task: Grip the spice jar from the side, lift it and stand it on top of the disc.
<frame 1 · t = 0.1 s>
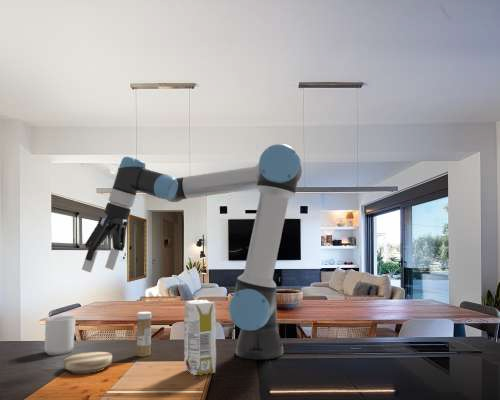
hand: (98, 269, 128), 28 cm above the counter, tool tilted 20°, fingers open, 13 cm apart
mug: (62, 351, 138), on the counter
disc: (88, 368, 117), on the counter
spice jar: (143, 355, 131), on the counter
juice carton: (200, 372, 112), on the counter
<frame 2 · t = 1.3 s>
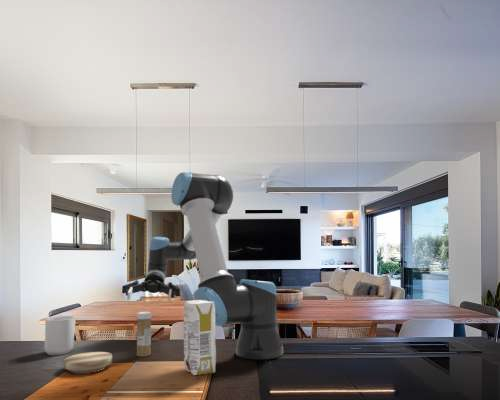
hand: (149, 297, 138), 17 cm above the counter, tool horizontal, fingers open, 13 cm apart
nothing on the counter moved.
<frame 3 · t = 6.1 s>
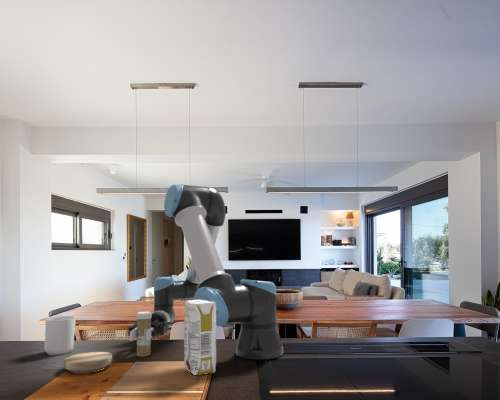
hand: (139, 336, 126), 7 cm above the counter, tool horizontal, fingers closed on spice jar, 4 cm apart
spice jar: (143, 355, 131), on the counter, touching gripper
juice carton: (200, 372, 112), on the counter, touching arm
everything else where it was.
when the fingers open (11 cm above the counter, at t = 10.4 s): spice jar drops 1 cm, resting on disc.
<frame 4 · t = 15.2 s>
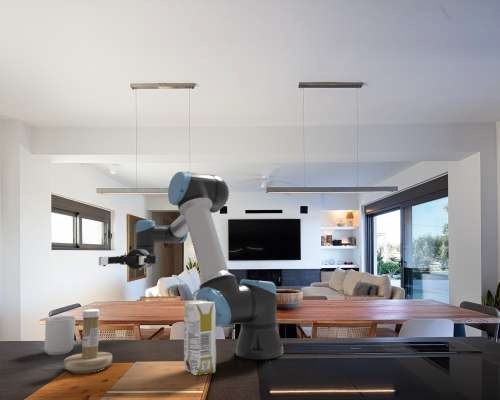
hand: (119, 261, 137), 30 cm above the counter, tool horizontal, fingers open, 13 cm apart
spice jar: (89, 358, 118), point 3 cm above the counter, touching disc
everything else where it was.
at the end: spice jar inside the target area on the disc (0.4 cm from its centre), point 2.8 cm above the disc's base; spice jar tilted 0°; the gripper is holding nothing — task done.
